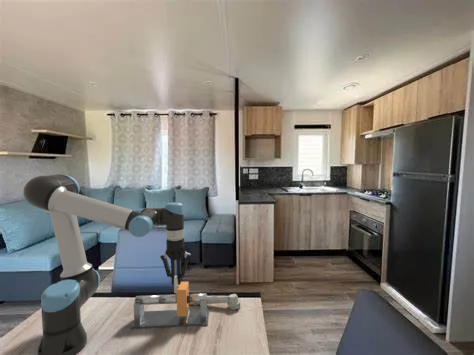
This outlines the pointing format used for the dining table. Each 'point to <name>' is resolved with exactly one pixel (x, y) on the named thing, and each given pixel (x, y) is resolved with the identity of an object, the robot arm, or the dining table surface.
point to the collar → (182, 299)
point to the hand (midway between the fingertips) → (176, 291)
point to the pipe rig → (169, 312)
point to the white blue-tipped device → (223, 301)
